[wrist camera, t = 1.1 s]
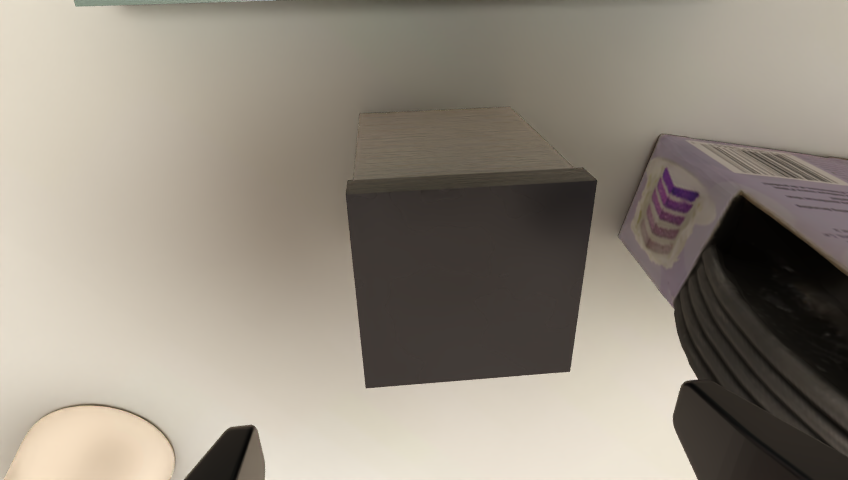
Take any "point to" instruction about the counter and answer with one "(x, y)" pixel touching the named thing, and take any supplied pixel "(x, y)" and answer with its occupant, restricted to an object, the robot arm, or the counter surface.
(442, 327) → the capped grey block
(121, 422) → the beer glass
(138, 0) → the tray
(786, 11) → the counter surface
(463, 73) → the counter surface
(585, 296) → the counter surface
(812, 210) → the cake pan box
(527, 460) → the counter surface
